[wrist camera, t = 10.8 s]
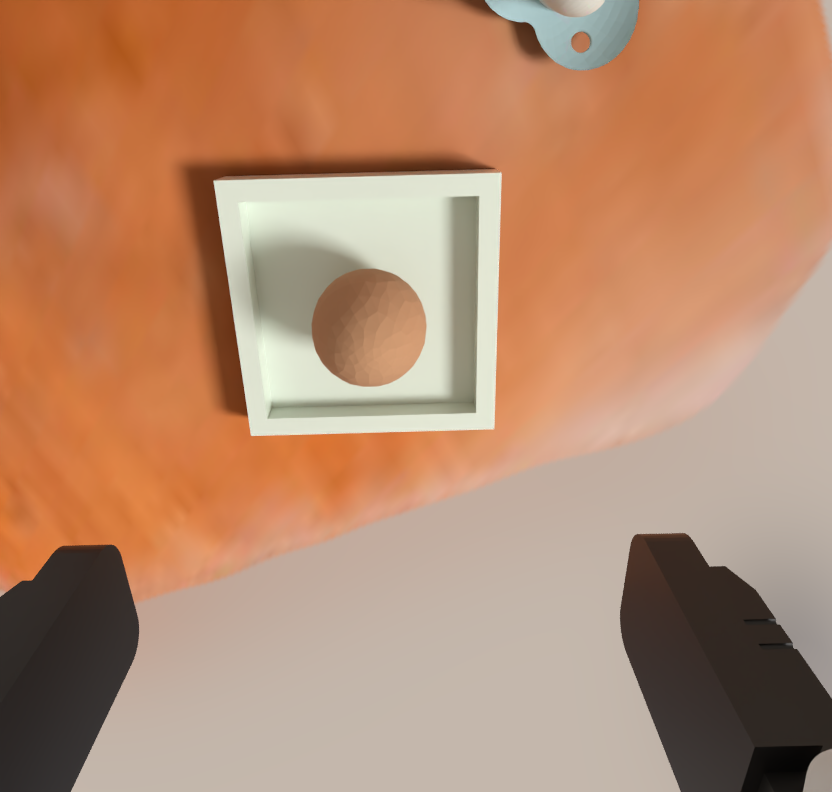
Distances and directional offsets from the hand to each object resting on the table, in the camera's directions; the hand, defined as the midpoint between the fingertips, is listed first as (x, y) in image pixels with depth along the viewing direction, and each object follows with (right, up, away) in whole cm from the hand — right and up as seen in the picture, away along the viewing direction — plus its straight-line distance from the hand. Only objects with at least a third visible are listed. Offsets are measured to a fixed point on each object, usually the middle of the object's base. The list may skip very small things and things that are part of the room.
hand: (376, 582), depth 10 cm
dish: (-2, +8, +24) cm, 25 cm away
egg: (-2, +8, +23) cm, 25 cm away
